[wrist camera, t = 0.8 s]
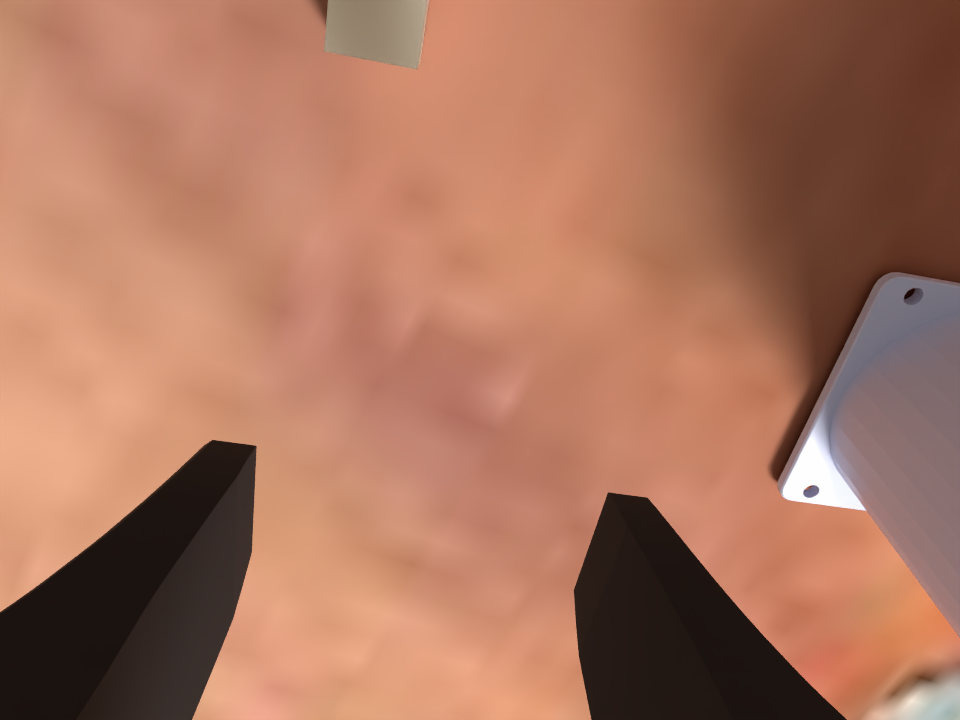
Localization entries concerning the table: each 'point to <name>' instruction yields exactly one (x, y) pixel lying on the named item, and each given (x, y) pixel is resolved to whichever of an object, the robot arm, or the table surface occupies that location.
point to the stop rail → (377, 30)
